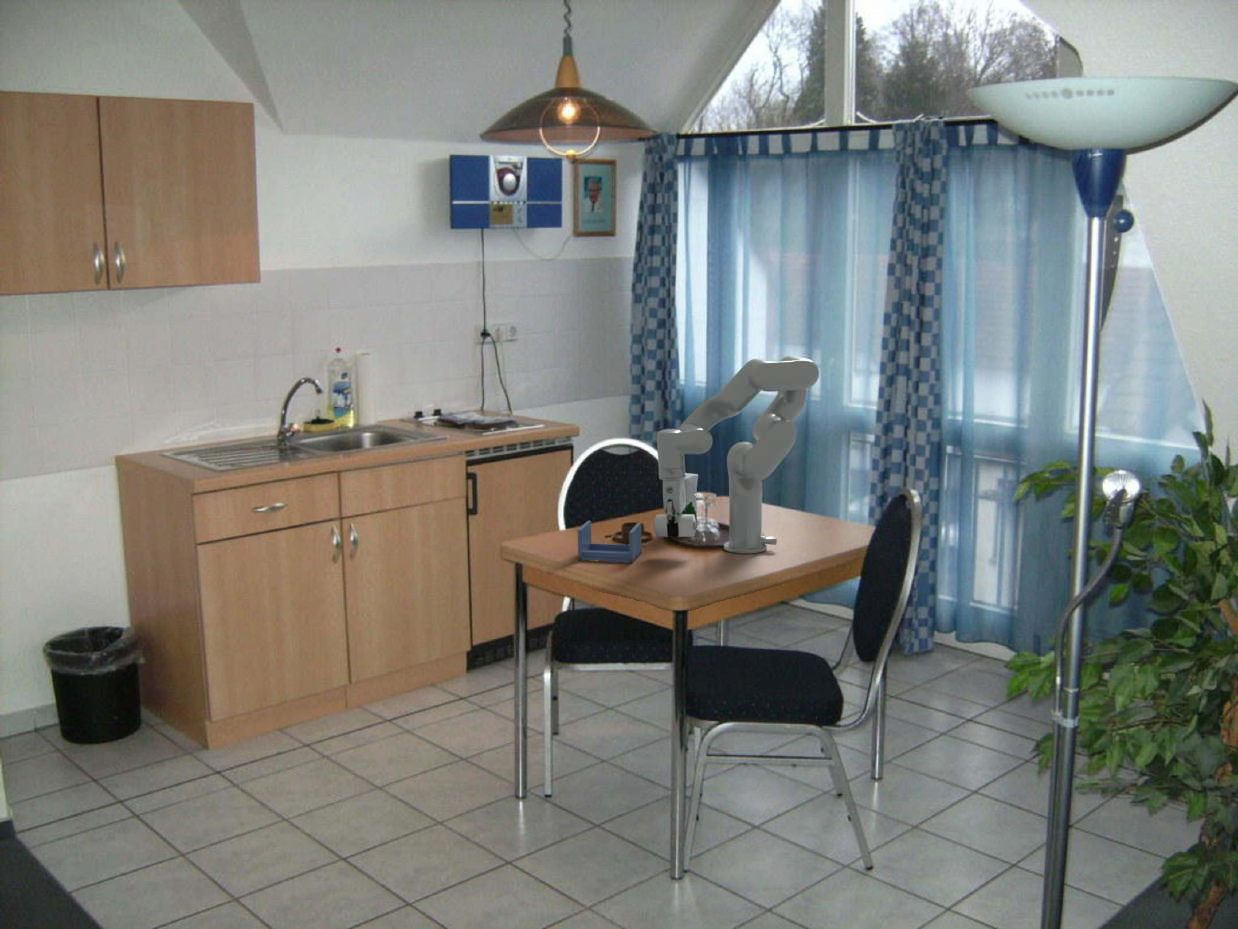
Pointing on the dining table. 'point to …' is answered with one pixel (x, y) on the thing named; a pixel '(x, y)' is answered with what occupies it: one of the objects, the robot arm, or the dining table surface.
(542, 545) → the dining table surface
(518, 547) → the dining table surface
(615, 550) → the holder
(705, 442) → the robot arm
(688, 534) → the roll
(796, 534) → the dining table surface
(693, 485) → the milk carton
